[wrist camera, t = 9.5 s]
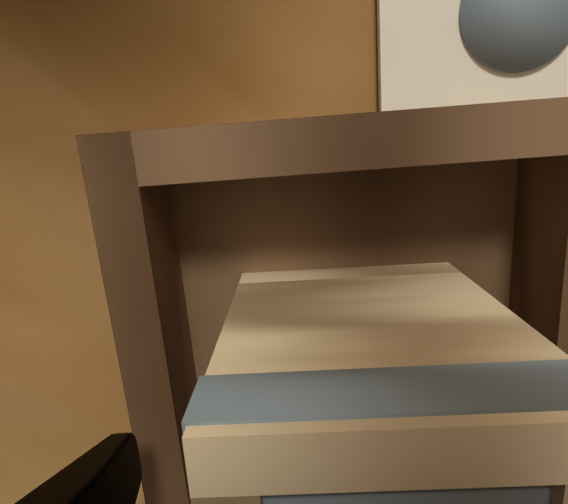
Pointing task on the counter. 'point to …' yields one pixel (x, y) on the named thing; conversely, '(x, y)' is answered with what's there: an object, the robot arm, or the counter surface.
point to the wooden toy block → (377, 394)
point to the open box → (313, 229)
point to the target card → (470, 52)
